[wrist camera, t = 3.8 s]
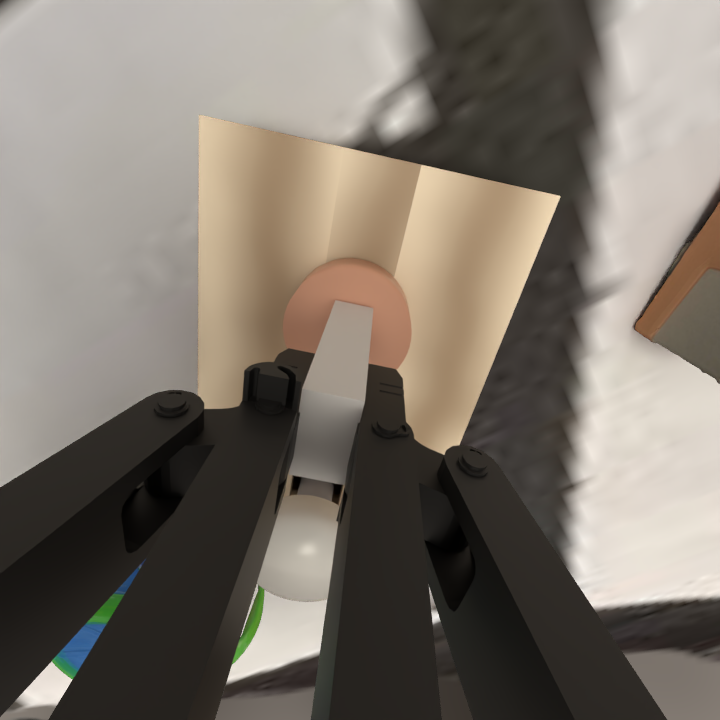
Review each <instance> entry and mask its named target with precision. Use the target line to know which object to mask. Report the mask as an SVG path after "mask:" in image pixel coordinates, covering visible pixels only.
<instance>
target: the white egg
mask: <svg viewBox="0 0 720 720" xmlns="http://www.w3.org/2000/svg"><path fill="white" fill-rule="evenodd" d="M333 489H334V483H330V482H325V481H320V480H315V479H310V478H304V477H302V478H301V481H300V485H299V489H298V493H297V495H291V496H285V497H283V499H282V503H281V506H280V509H279V512H278V516H277V519H276V522H275V525H274V529H273V532H272V535H271V538H270V542H269V545H268V548H267V551H266V555H265V558H264V561H263V564H262V568H261V571H260V574H259V577H258V581H257V584H258V585H259V586H260V587H262V588H263V589H265V590H266V591H268V592H270V593H272V594H274V595H276V596H279V597H282V598H285V599H289V600H294V601H303V602H314V601H321V600H326V599H328V592H329V585H330V578H331V570H332V563H333V556H334V549H335V541H336V534H337V527H338V522H337V521H336V519H337V515H338V511H339V507H340V506H338V505H337V504H335V503H333V502H332V496H333Z"/></svg>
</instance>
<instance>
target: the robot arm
mask: <svg viewBox="0 0 720 720" xmlns="http://www.w3.org/2000/svg"><path fill="white" fill-rule="evenodd" d="M372 319H373V308H371V307H366V306H361V305H356V304H352V303H347V302H342V301H338V300H335V303H334V305H333V308H332V311H331V313H330V316H329V319H328V321H327V324H326V327H325V329H324V332H323V335H322V337H321V340H320V343H319V345H318V348H317V350H316V353H310V352H305V351H300V350H295V349H290V348H288V349H286V350H284V351H283V352H281V353H279V354H278V355H277V357H276V359H275V361H274V362H261V363H256V364H253V365H250V366H249V367H248V368H247V369H245V370H244V382H243V396H242V401H241V403H240V405H239V406H237V407H233V408H224V409H204V402H203V400H202V399H201V397H199V396H197V395H196V394H194V393H191V392H187V391H182V390H168V391H163V392H158V393H155V394H153V395H151V396H149V397H146V398H145V399H143V400H142V401H140V402H138V403H137V404H135V405H134V406H132V407H130V408H129V409H127V410H125V411H124V412H122V413H121V414H119V415H117V416H116V417H114V418H112V419H111V420H109V421H108V422H106V423H104V424H103V425H101V426H99V427H98V428H96V429H95V430H93V431H91V432H90V433H88V434H86V435H85V436H83V437H82V438H80V439H78V440H77V441H75V442H73V443H72V444H70V445H69V446H67V447H65V448H64V449H62V450H61V451H59V452H57V453H56V454H54V455H52V456H51V457H49V458H48V459H46V460H44V461H43V462H41V463H39V464H38V465H36V466H35V467H33V468H31V469H30V470H28V471H26V472H25V473H23V474H22V475H20V476H18V477H17V478H15V479H13V480H12V481H10V482H9V483H7V484H5V485H4V486H2V487H0V717H1V715H2V714H3V713H4V712H5V711H6V710H7V709H8V708H9V707H10V706H11V705H12V704H13V702H14V701H15V700H16V699H17V698H18V697H19V696H20V695H21V694H22V693H23V692H24V691H25V689H26V688H27V687H28V686H29V685H30V684H31V683H32V682H33V681H34V680H35V679H36V677H37V676H38V675H39V674H40V673H41V672H42V671H43V670H44V669H45V668H46V667H47V666H48V664H49V663H50V662H51V661H52V660H53V659H54V658H55V657H56V656H57V655H58V654H59V652H60V651H61V650H62V649H63V648H64V647H65V646H66V645H67V644H68V643H69V642H70V641H71V639H72V638H73V637H74V636H75V635H76V634H77V633H78V632H79V631H80V630H81V629H82V627H83V626H84V625H85V624H86V623H87V622H88V621H89V620H90V619H91V618H92V617H93V616H94V614H95V613H96V612H97V611H98V610H99V609H100V608H101V607H102V606H103V605H104V604H105V602H106V601H107V600H108V599H109V598H110V597H111V596H112V595H113V594H114V593H115V592H116V591H117V589H118V588H119V587H120V586H121V585H122V584H123V583H124V582H125V581H126V580H127V579H128V577H129V576H130V575H131V574H132V573H133V572H134V571H135V570H136V569H137V568H138V567H139V566H140V564H141V563H142V562H143V561H144V560H145V559H146V560H145V561H144V563H143V565H142V566H141V568H140V570H139V571H138V573H137V575H136V576H135V578H134V579H133V581H132V583H131V584H130V586H129V588H128V589H127V591H126V593H125V594H124V596H123V598H122V599H121V601H120V603H119V604H118V606H117V607H116V609H115V611H114V612H113V614H112V616H111V617H110V619H109V621H108V622H107V624H106V626H105V627H104V629H103V631H102V632H101V634H100V635H99V637H98V639H97V640H96V642H95V644H94V645H93V647H92V649H91V650H90V652H89V654H88V655H87V657H86V659H85V660H84V662H83V664H82V665H81V667H80V668H79V670H78V672H77V673H76V675H75V677H74V678H73V680H72V682H71V683H70V685H69V687H68V688H67V690H66V692H65V693H64V695H63V696H62V698H61V700H60V701H59V703H58V705H57V706H56V708H55V710H54V711H53V713H52V715H51V716H50V718H49V720H215V718H216V714H217V711H218V708H219V705H220V701H221V698H222V695H223V691H224V688H225V685H226V682H227V678H228V675H229V672H230V669H231V665H232V662H233V659H234V656H235V652H236V649H237V646H238V643H239V639H240V636H241V633H242V630H243V626H244V623H245V620H246V617H247V613H248V610H249V607H250V604H251V600H252V597H253V594H254V591H255V587H256V584H257V581H258V577H259V574H260V571H261V568H262V564H263V561H264V558H265V555H266V551H267V548H268V545H269V542H270V538H271V535H272V532H273V529H274V525H275V522H276V519H277V516H278V512H279V509H280V506H281V503H282V499H283V496H284V493H285V489H286V482H287V476H288V472H289V469H290V472H289V475H294V476H299V477H304V478H310V479H315V480H320V481H325V482H330V483H335V484H340V485H345V487H344V491H343V495H342V499H341V503H340V507H339V511H338V515H337V519H336V521H337V522H338V527H337V534H336V541H335V549H334V556H333V563H332V570H331V578H330V585H329V592H328V599H327V606H326V614H325V621H324V628H323V635H322V643H321V650H320V657H319V664H318V671H317V679H316V686H315V693H314V700H313V708H312V715H311V720H442V718H441V707H440V697H439V687H438V676H437V666H436V656H435V646H434V635H433V625H432V615H431V605H430V594H429V587H430V590H431V593H432V596H433V599H434V602H435V605H436V608H437V611H438V614H439V617H440V620H441V623H442V626H443V629H444V632H445V635H446V639H447V642H448V645H449V648H450V651H451V654H452V657H453V660H454V663H455V666H456V669H457V672H458V675H459V678H460V681H461V684H462V687H463V690H464V693H465V696H466V699H467V702H468V706H469V709H470V712H471V715H472V718H473V720H667V719H666V717H665V716H664V714H663V713H662V711H661V710H660V708H659V707H658V705H657V704H656V702H655V701H654V699H653V698H652V696H651V695H650V693H649V692H648V690H647V689H646V687H645V686H644V684H643V683H642V681H641V680H640V678H639V677H638V675H637V674H636V672H635V671H634V669H633V668H632V666H631V665H630V663H629V661H628V660H627V658H626V657H625V655H624V654H623V652H622V651H621V649H620V648H619V646H618V645H617V643H616V642H615V640H614V639H613V637H612V636H611V634H610V633H609V631H608V630H607V628H606V627H605V625H604V624H603V622H602V621H601V619H600V618H599V616H598V615H597V613H596V612H595V610H594V609H593V607H592V606H591V604H590V603H589V601H588V600H587V598H586V597H585V595H584V594H583V592H582V591H581V589H580V588H579V586H578V585H577V583H576V582H575V580H574V579H573V577H572V576H571V574H570V573H569V571H568V570H567V568H566V566H565V565H564V563H563V562H562V560H561V559H560V557H559V556H558V554H557V553H556V551H555V550H554V548H553V547H552V545H551V544H550V542H549V541H548V539H547V538H546V536H545V535H544V533H543V532H542V530H541V529H540V527H539V526H538V524H537V523H536V521H535V520H534V518H533V517H532V515H531V514H530V512H529V511H528V509H527V508H526V506H525V505H524V503H523V502H522V500H521V499H520V497H519V496H518V494H517V493H516V491H515V490H514V488H513V487H512V485H511V484H510V482H509V481H508V479H507V478H506V476H505V475H504V473H503V472H502V470H501V468H500V467H499V465H498V464H497V463H496V462H495V461H494V460H493V459H492V458H491V457H490V456H488V455H487V454H485V453H484V452H483V451H480V450H478V449H476V448H473V447H470V446H464V445H456V446H452V447H450V448H448V449H447V450H446V452H445V455H443V454H441V453H439V452H436V451H434V450H432V449H429V448H427V447H426V446H424V445H422V444H420V443H419V442H418V441H416V440H415V439H414V433H413V431H412V428H411V427H410V426H409V424H408V423H407V422H406V414H405V401H404V389H403V378H402V377H401V375H400V374H399V373H398V371H397V370H396V369H393V368H388V367H383V366H379V365H374V364H369V352H370V341H371V330H372Z"/></svg>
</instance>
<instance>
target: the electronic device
mask: <svg viewBox="0 0 720 720" xmlns="http://www.w3.org/2000/svg"><path fill="white" fill-rule="evenodd" d="M635 330H636V331H637V332H639V333H640V334H641V335H643V336H644V337H646V338H648V339H649V340H650V341H651V342H654V343H658V344H660V345H661V346H663V347H665V348H667V349H668V350H670V351H671V352H673V353H674V354H676V355H678V356H680V357H681V358H683V359H684V360H686V361H687V362H689V363H691V364H692V365H694V366H696V367H697V368H699V369H701V371H702V372H703V373H707V374H708V375H710V376H712V377H713V378H715V379H716V380H717V382H718V383H719V384H720V202H719V204H718V205H717V207H716V209H715V210H714V212H713V213H712V215H711V216H710V218H709V219H708V220H707V222H706V223H705V225H704V226H703V228H702V229H701V231H700V232H698V233H697V234H695V237H694V239H693V241H692V242H688V243H686V245H685V246H684V247H683V249H682V250H681V251H680V254H679V256H678V257H677V259H676V260H675V261H674V263H673V265H672V267H671V268H670V270H669V272H668V274H667V280H666V281H665V283H664V284H663V286H662V287H661V289H660V290H659V292H658V294H657V295H656V296H655V297H654V299H653V301H652V302H651V303H650V305H649V306H648V307H647V309H646V311H645V313H644V314H643V316H642V317H641V318H640V319H639V320H638V321H637V323H636V325H635Z"/></svg>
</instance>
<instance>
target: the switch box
mask: <svg viewBox="0 0 720 720" xmlns="http://www.w3.org/2000/svg"><path fill="white" fill-rule="evenodd" d="M559 199H560V196H557V195H553V194H548V193H544V192H539V191H535V190H531V189H526V188H522V187H517V186H513V185H508V184H504V183H500V182H495V181H491V180H486V179H482V178H477V177H473V176H469V175H464V174H460V173H455V172H451V171H446V170H442V169H438V168H433V167H429V166H424V165H420V164H415V163H411V162H407V161H402V160H398V159H393V158H389V157H384V156H380V155H376V154H371V153H367V152H362V151H358V150H353V149H349V148H345V147H340V146H336V145H331V144H327V143H322V142H318V141H314V140H309V139H305V138H300V137H296V136H291V135H287V134H283V133H278V132H274V131H269V130H265V129H260V128H256V127H251V126H247V125H243V124H238V123H234V122H229V121H225V120H220V119H216V118H212V117H207V116H203V115H199V216H198V396H199V397H201V399H202V400H203V402H204V409H224V408H233V407H237V406H239V405H240V403H241V401H242V396H243V382H244V370H245V369H247V368H248V367H249V366H250V365H253V364H256V363H261V362H274V361H275V359H276V357H277V355H278V354H279V353H281V352H283V351H284V350H286V349H287V347H286V344H285V340H284V336H283V319H284V314H285V310H286V308H287V305H288V303H289V301H290V299H291V298H292V296H293V295H294V293H295V292H296V291H297V289H298V288H299V286H300V285H301V283H302V282H303V281H304V279H305V278H306V277H307V276H308V275H309V274H310V273H311V272H312V271H313V270H315V269H316V268H317V267H319V266H321V265H323V264H325V263H327V262H330V261H333V260H337V259H344V258H355V259H362V260H366V261H369V262H372V263H374V264H376V265H378V266H380V267H382V268H383V269H385V270H386V271H387V272H389V273H390V274H391V275H392V276H393V277H394V278H395V279H396V280H397V282H398V283H399V285H400V286H401V288H402V290H403V291H404V294H405V296H406V299H407V303H408V308H409V314H410V320H411V329H412V335H411V343H410V347H409V350H408V353H407V355H406V357H405V359H404V361H403V362H402V364H401V365H400V366H399V368H398V369H397V371H398V373H399V374H400V375H401V377H402V378H403V389H404V401H405V414H406V422H407V423H408V424H409V426H410V427H411V428H412V431H413V433H414V439H415V440H416V441H418V442H419V443H420V444H422V445H424V446H426V447H427V448H429V449H432V450H434V451H436V452H439V453H441V454H443V455H445V452H446V450H447V449H448V448H450V447H452V446H456V445H459V444H460V442H461V440H462V437H463V435H464V432H465V430H466V427H467V425H468V422H469V420H470V417H471V415H472V413H473V410H474V408H475V405H476V403H477V400H478V398H479V395H480V393H481V390H482V388H483V386H484V383H485V381H486V378H487V376H488V373H489V371H490V368H491V366H492V363H493V361H494V358H495V356H496V354H497V351H498V349H499V346H500V344H501V341H502V339H503V336H504V334H505V331H506V329H507V327H508V324H509V322H510V319H511V317H512V314H513V312H514V309H515V307H516V304H517V302H518V300H519V297H520V295H521V292H522V290H523V287H524V285H525V282H526V280H527V277H528V275H529V273H530V270H531V268H532V265H533V263H534V260H535V258H536V255H537V253H538V250H539V248H540V246H541V243H542V241H543V238H544V236H545V233H546V231H547V228H548V226H549V223H550V221H551V219H552V216H553V214H554V211H555V209H556V206H557V204H558V201H559ZM289 472H290V469H289ZM289 472H288V476H287V482H286V489H285V493H284V496H283V497H285V496H291V495H297V493H298V489H299V485H300V481H301V478H302V477H299V476H294V475H289ZM344 487H345V485H340V484H335V483H334V489H333V496H332V502H333V503H335V504H337V505H338V506H340V503H341V499H342V495H343V491H344Z"/></svg>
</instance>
